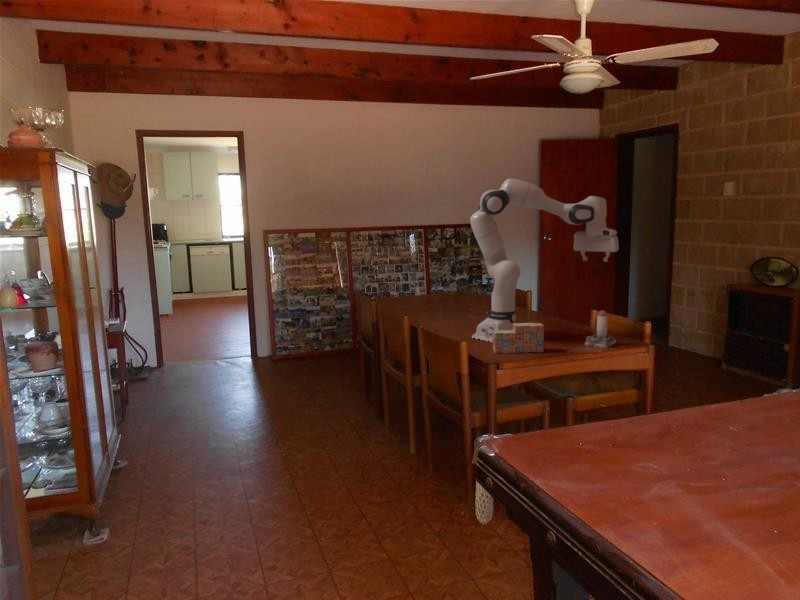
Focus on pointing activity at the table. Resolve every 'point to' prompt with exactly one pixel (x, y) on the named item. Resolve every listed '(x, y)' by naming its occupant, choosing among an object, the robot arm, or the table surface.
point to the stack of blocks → (519, 338)
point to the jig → (600, 341)
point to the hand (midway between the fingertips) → (595, 261)
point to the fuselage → (602, 325)
